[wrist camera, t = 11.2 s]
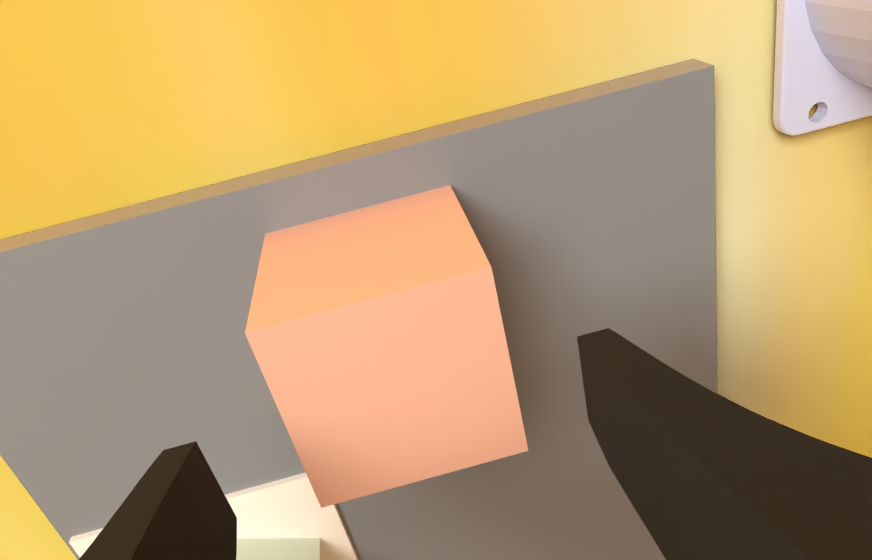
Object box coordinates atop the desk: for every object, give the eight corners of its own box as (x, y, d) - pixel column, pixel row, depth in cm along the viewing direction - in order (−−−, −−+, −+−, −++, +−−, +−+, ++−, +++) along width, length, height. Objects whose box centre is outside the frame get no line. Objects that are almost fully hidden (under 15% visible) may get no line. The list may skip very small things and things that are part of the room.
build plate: (693, 58, 16) (718, 67, 15) (705, 553, 25) (721, 580, 24) (-101, 265, 16) (-131, 289, 15) (203, 695, 25) (197, 729, 24)
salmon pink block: (450, 184, 16) (491, 267, 12) (484, 338, 18) (528, 450, 14) (265, 233, 16) (245, 333, 12) (322, 382, 18) (321, 507, 14)
